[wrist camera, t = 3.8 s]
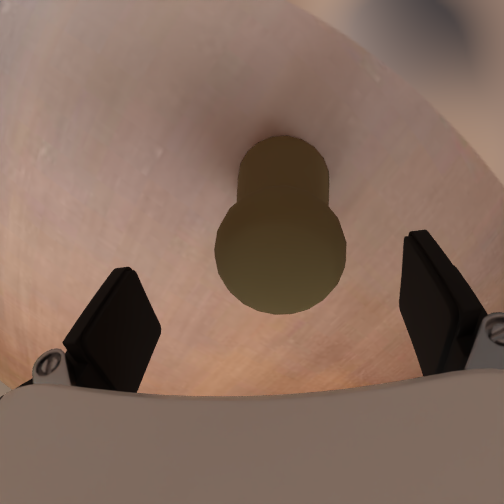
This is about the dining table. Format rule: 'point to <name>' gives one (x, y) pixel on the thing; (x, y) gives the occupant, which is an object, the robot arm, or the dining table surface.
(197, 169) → the dining table surface
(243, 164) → the olive pawn
